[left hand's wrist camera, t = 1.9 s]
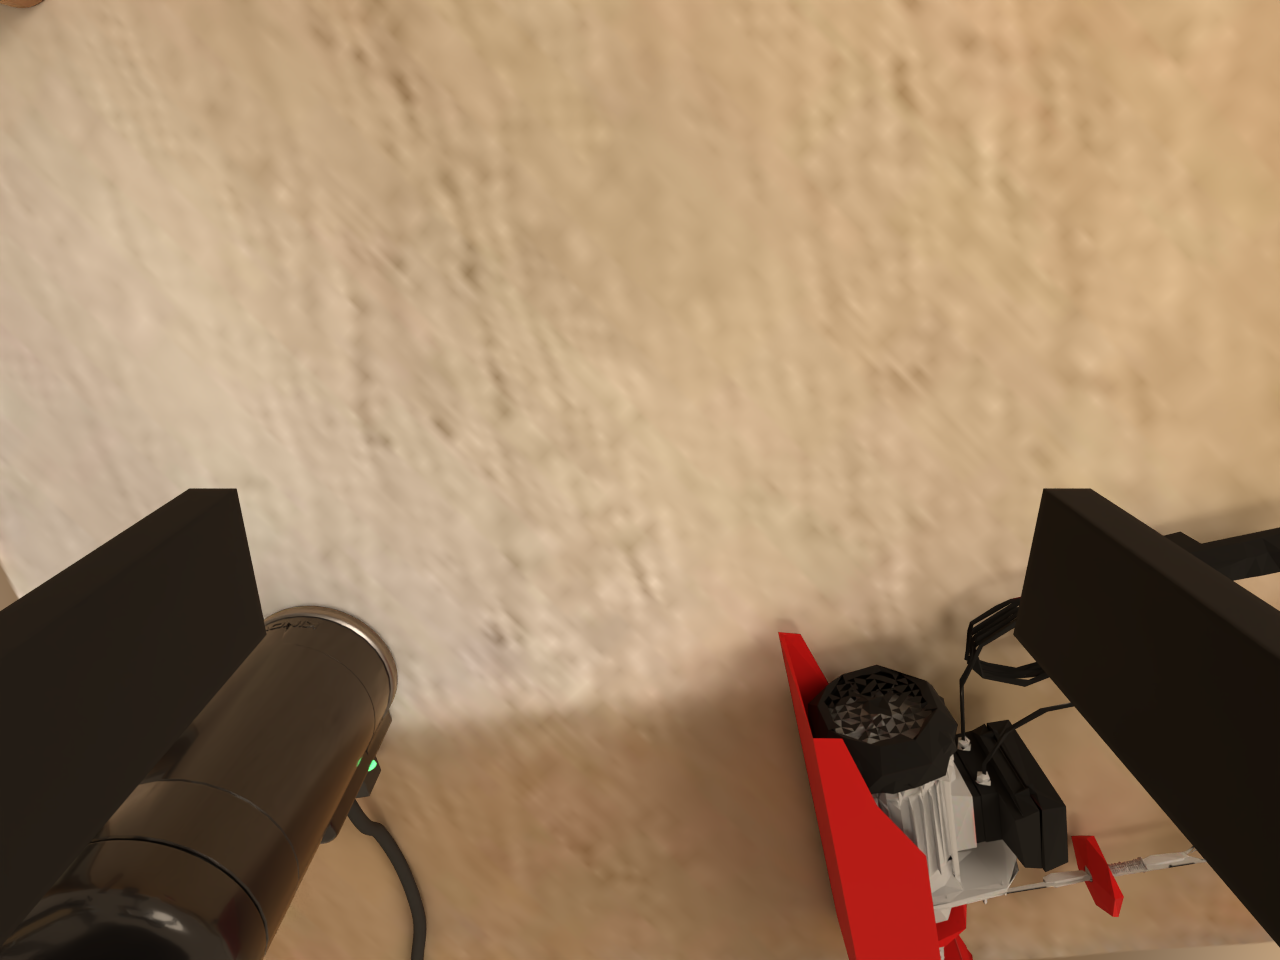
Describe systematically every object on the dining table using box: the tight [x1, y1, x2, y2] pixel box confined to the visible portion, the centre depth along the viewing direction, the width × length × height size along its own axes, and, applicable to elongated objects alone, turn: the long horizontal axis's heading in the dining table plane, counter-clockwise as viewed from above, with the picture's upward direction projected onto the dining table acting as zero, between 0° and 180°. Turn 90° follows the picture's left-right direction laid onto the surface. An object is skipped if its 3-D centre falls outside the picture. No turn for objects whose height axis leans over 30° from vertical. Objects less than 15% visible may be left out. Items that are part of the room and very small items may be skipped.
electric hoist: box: [778, 527, 1280, 960], centre depth 44 cm, size 10×27×30 cm
